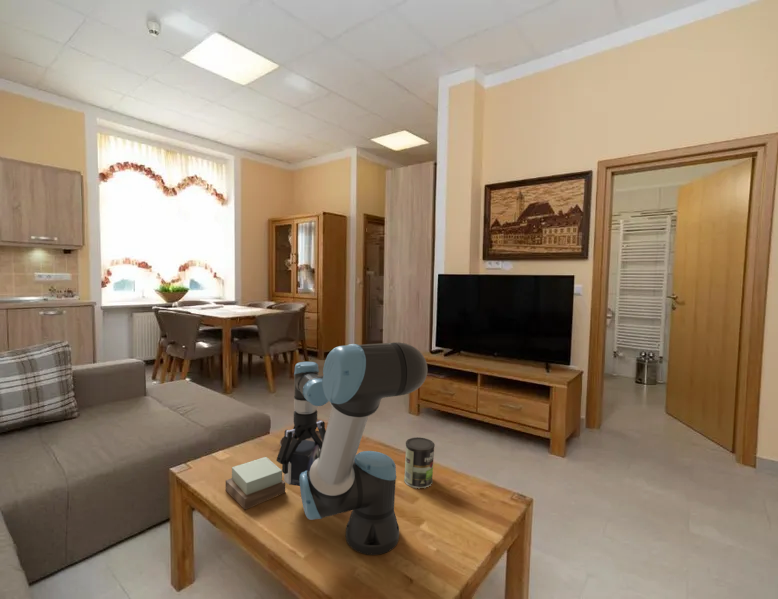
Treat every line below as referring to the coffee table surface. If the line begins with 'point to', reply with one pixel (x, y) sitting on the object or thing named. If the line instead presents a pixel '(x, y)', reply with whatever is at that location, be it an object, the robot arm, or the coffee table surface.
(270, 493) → the base slab
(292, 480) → the small box
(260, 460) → the top slab
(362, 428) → the robot arm
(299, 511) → the coffee table surface
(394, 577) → the coffee table surface
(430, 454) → the coffee can
